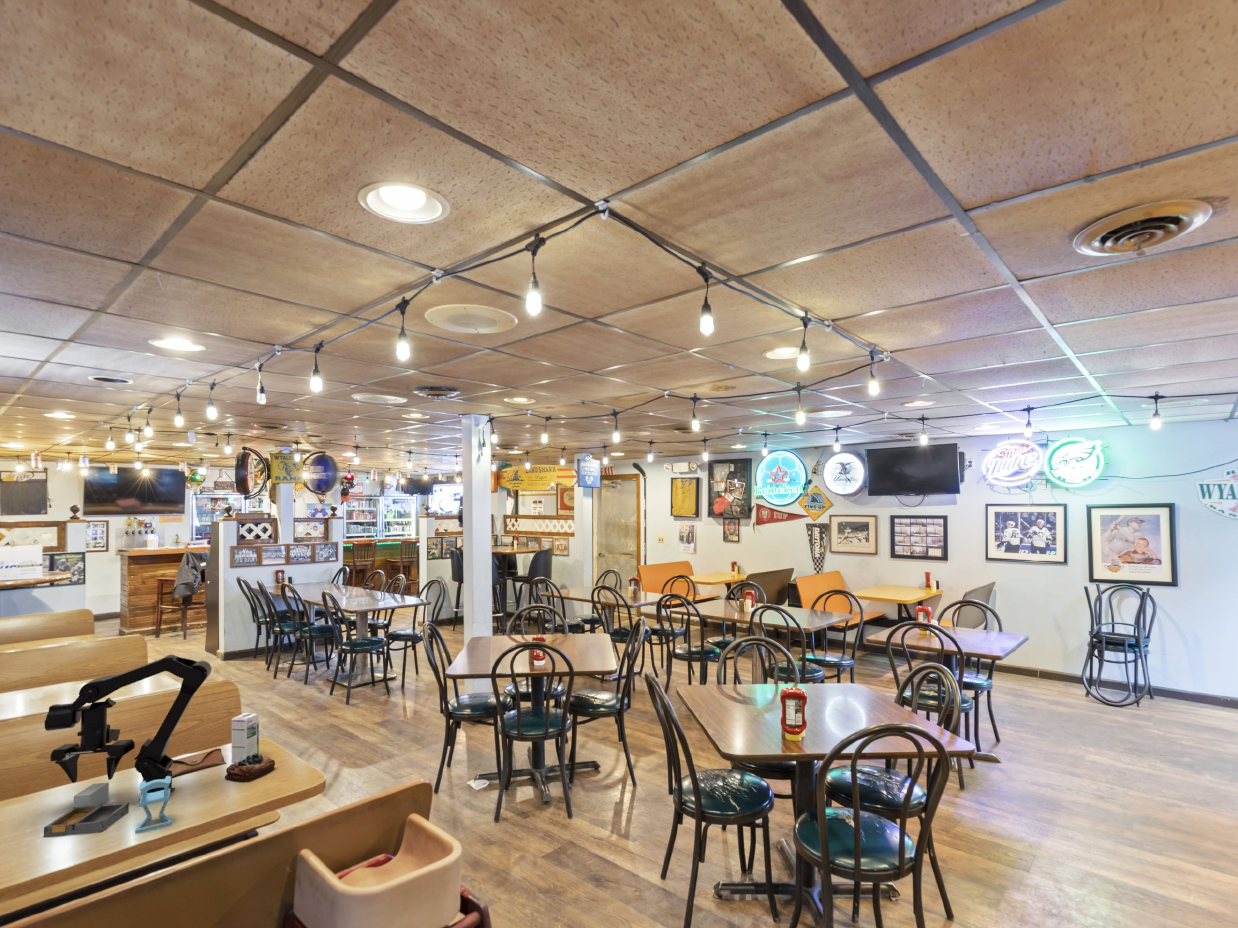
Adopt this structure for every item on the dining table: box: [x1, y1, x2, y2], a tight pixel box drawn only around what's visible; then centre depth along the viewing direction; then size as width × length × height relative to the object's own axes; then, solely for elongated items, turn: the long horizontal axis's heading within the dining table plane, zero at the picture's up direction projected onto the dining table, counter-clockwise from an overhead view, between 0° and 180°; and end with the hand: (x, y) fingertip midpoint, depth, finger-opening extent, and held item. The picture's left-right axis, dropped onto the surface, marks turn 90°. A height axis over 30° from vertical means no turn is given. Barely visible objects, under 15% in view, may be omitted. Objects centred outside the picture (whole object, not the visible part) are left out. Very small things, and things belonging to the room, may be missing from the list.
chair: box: [134, 776, 173, 834], centre depth 168 cm, size 8×8×12 cm
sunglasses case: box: [168, 748, 227, 779], centre depth 204 cm, size 18×7×7 cm
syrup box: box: [231, 712, 260, 763], centre depth 210 cm, size 6×6×14 cm
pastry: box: [224, 754, 276, 783], centre depth 198 cm, size 11×12×6 cm
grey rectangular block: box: [72, 782, 110, 809], centre depth 178 cm, size 4×8×5 cm, turn 8°
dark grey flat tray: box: [43, 802, 130, 838], centre depth 168 cm, size 14×11×2 cm
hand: (92, 780), depth 179 cm, fingers open, 9 cm apart
